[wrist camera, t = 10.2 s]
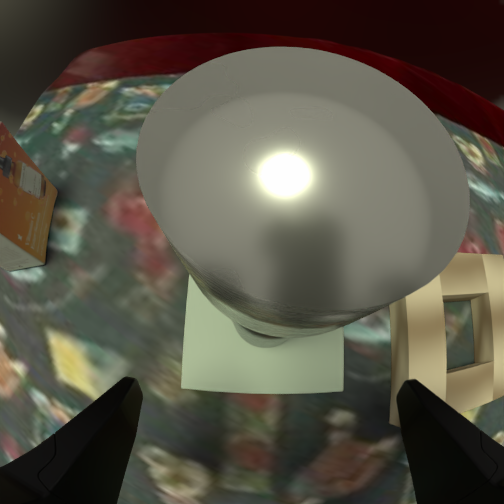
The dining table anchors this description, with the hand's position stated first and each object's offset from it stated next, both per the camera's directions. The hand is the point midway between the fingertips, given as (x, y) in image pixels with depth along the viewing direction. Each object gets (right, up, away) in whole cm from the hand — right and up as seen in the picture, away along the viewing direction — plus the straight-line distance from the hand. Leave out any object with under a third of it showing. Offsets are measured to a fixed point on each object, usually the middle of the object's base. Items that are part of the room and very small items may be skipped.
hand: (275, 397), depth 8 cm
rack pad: (0, 0, +10) cm, 10 cm away
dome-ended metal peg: (0, +1, +9) cm, 9 cm away
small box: (-22, +7, +13) cm, 26 cm away
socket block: (+15, -2, +9) cm, 18 cm away
